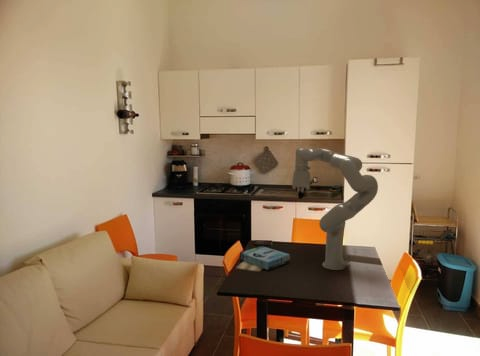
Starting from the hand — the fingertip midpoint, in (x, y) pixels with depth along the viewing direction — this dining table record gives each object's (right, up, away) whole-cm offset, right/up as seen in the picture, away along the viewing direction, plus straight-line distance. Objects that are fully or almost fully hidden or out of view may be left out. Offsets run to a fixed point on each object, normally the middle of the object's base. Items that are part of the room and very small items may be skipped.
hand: (300, 198), depth 225 cm
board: (-29, -38, -7) cm, 48 cm away
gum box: (-14, -36, -13) cm, 41 cm away
